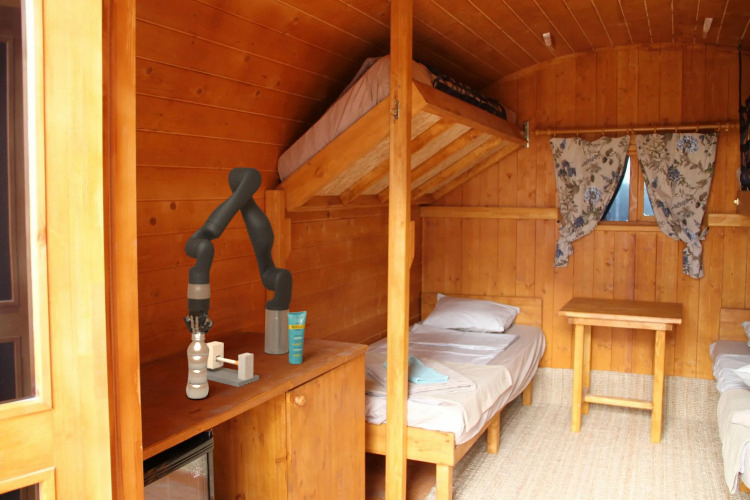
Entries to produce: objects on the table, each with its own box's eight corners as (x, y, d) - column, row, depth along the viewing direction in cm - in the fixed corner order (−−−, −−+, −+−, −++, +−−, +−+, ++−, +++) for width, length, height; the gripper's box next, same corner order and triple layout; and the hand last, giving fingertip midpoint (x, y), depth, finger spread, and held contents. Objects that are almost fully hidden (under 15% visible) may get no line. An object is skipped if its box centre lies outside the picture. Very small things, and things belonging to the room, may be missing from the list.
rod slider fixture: (211, 368, 236) (212, 342, 235) (259, 380, 224) (259, 352, 223) (190, 375, 227) (190, 347, 226) (238, 387, 216) (238, 358, 215)
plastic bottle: (188, 394, 207) (188, 331, 205) (210, 394, 207) (211, 331, 205) (184, 401, 200) (184, 335, 198) (206, 401, 201) (207, 336, 199)
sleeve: (214, 363, 231) (215, 341, 230) (223, 365, 229) (223, 343, 228) (204, 366, 227) (204, 343, 226) (212, 368, 225) (213, 345, 224)
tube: (289, 365, 244) (290, 313, 242) (283, 362, 248) (285, 311, 246) (307, 363, 248) (309, 312, 246) (301, 360, 252) (303, 309, 250)
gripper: (220, 297, 229) (219, 346, 231) (193, 292, 236) (192, 340, 238) (204, 299, 223) (203, 350, 225) (177, 295, 230) (176, 344, 231)
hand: (198, 345), depth 231 cm, fingers closed
